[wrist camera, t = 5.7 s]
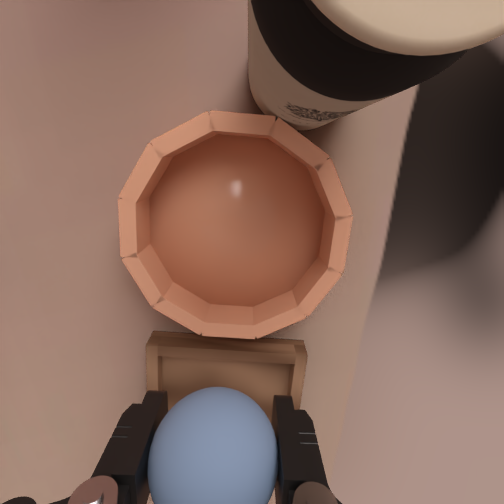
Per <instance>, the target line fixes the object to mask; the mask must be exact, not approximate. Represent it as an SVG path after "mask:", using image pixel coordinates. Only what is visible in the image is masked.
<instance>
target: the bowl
mask: <svg viewBox="0 0 504 504" xmlns="http://www.w3.org/2000/svg"><path fill="white" fill-rule="evenodd" d="M275 118H276V116H270V115H259V114H247V113H236V112H224V111H212V110H210V113H209V112H208V111H206V112H204V113H202V114H200V115H199V116H197V117H195V118H193V119H191V120H189V121H187V122H185V123H183V124H181V125H180V126H178V127H176V128H174V129H172V130H170V131H168V132H166V133H164V134H163V135H161V136H159V137H157V138H155V139H153V140H151V143H148V144H147V146H146V148H145V150H144V152H143V153H142V155H141V157H140V159H139V160H138V162H137V164H136V166H135V168H134V169H133V171H132V173H131V175H130V177H129V178H128V180H127V182H126V184H125V185H124V187H123V189H122V191H121V193H120V194H119V197H120V198H119V199H118V213H119V235H120V257H123V258H122V259H121V260H122V261H123V263H124V264H125V266H126V268H127V269H128V271H129V272H130V274H131V276H132V277H133V279H134V280H135V282H136V283H137V285H138V287H139V288H140V290H141V291H142V293H143V294H144V296H145V298H146V299H147V301H148V302H149V304H150V306H153V305H154V307H153V308H154V309H155V310H157V311H159V312H160V313H162V314H164V315H166V316H167V317H169V318H171V319H173V320H174V321H176V322H178V323H179V324H181V325H183V326H185V327H186V328H188V329H190V330H192V331H193V332H195V333H197V334H198V335H200V334H201V333H202V336H212V337H228V338H244V339H255V335H256V337H257V339H258V338H260V337H263V336H265V335H268V334H270V333H272V332H275V331H277V330H279V329H282V328H284V327H286V326H289V325H291V324H294V323H296V322H298V321H301V320H303V319H305V318H306V316H309V315H310V314H311V313H312V311H313V310H314V309H315V308H316V306H317V305H318V304H319V303H320V302H321V300H322V299H323V298H324V297H325V295H326V294H327V293H328V292H329V291H330V289H331V288H332V287H333V286H334V284H335V283H336V282H337V281H338V280H339V278H340V277H341V276H342V274H341V273H343V272H344V266H345V260H346V255H347V249H348V243H349V237H350V232H351V226H352V220H353V217H352V216H351V215H352V214H353V213H352V211H351V208H350V206H349V203H348V200H347V198H346V195H345V193H344V190H343V187H342V185H341V182H340V180H339V177H338V175H337V172H336V169H335V167H334V164H333V162H332V159H331V158H328V157H329V155H328V154H326V153H325V152H324V151H323V150H321V149H320V148H319V147H317V146H316V145H315V144H313V143H312V142H311V141H309V140H308V139H307V138H305V137H304V136H303V135H301V134H300V133H299V132H297V131H296V130H295V129H294V128H292V127H291V126H290V125H288V124H287V123H286V122H284V121H283V120H282V119H280V118H279V117H278V118H277V120H276V121H275ZM340 272H341V273H340ZM305 315H306V316H305Z"/></svg>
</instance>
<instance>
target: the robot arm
mask: <svg viewBox="0 0 504 504" xmlns="http://www.w3.org/2000/svg"><path fill="white" fill-rule="evenodd" d="M167 413H168V395H167V391H157V390H148V391H147V393H146V395H145V398H144V400H143V402H142V404H132V405H131V406H130V407H129V408H128V409H127V410H126V411H125V412H124V413H123V414H122V416H121V418H120V420H119V422H118V424H117V427H116V428H115V430H114V432H113V434H112V437H111V438H110V440H109V442H108V444H107V446H106V448H105V450H104V452H103V454H102V456H101V458H100V460H99V462H98V464H97V466H96V468H95V470H94V473H93V475H92V476H91V478H90V479H88V480H87V481H85V482H83V483H82V484H81V485H80V486H79V487H77V488H76V490H75V491H74V492H73V494H72V495H71V496H70V497H68V498H66V499H63V500H60V501H57V502H53V503H50V504H146V503H147V500H148V497H149V493H150V489H149V484H148V457H149V452H150V447H151V444H152V441H153V438H154V435H155V432H156V430H157V428H158V426H159V425H160V423H161V421H162V419H163V418H164V417H165V415H166V414H167ZM271 425H272V427H273V430H274V433H275V436H276V440H277V445H278V474H277V480H276V484H275V497H276V504H342V503H341V502H340V501H339V500H338V499H337V498H336V497H335V496H334V495H333V493H332V492H331V490H330V488H329V486H328V483H327V479H326V475H325V471H324V467H323V463H322V458H321V454H320V450H319V446H318V442H317V438H316V435H315V429H314V425H313V421H312V419H311V418H310V416H309V415H308V414H307V412H306V411H305V410H294V404H293V399H292V396H289V395H274V398H273V409H272V420H271ZM3 504H36V502H35V501H34V500H33V499H32V498H29V497H17V498H13V499H11V500H8V501H6V502H4V503H3Z"/></svg>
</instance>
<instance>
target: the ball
mask: <svg viewBox="0 0 504 504" xmlns="http://www.w3.org/2000/svg"><path fill="white" fill-rule="evenodd" d="M277 474H278V445H277V440H276V436H275V433H274V430H273V427H272V425H271V423H270V421H269V419H268V417H267V415H266V414H265V412H264V411H263V410H262V408H261V407H260V406H259V405H258V404H257V403H256V402H255V401H254V400H253V399H251V398H250V397H249V396H247V395H245V394H244V393H242V392H240V391H237V390H234V389H231V388H226V387H208V388H204V389H200V390H198V391H195V392H192V393H191V394H189V395H187V396H185V397H184V398H183V399H181V400H180V401H178V402H177V403H176V404H175V405H174V406H173V407H172V408H171V409H170V410H169V411H168V413H167V414H166V415H165V417H164V418H163V419H162V421H161V423H160V425H159V426H158V428H157V430H156V432H155V435H154V438H153V441H152V444H151V447H150V452H149V457H148V484H149V489H150V493H151V497H152V500H153V502H154V504H268V502H269V500H270V498H271V496H272V493H273V490H274V487H275V484H276V480H277Z"/></svg>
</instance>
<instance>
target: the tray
mask: <svg viewBox="0 0 504 504" xmlns="http://www.w3.org/2000/svg"><path fill="white" fill-rule="evenodd" d="M307 356H308V355H307V351H306V348H305V345H304V341H303V340H288V339H272V338H258V339H257V337H255V339H244V338H228V337H212V336H202V334H200V335H198V334H193V333H178V332H162V331H153V333H152V335H151V337H150V338H149V340H148V342H147V344H146V377H147V391H148V390H157V391H167V395H168V411H169V410H170V409H171V408H172V407H173V406H174V405H175V404H176V403H177V402H178V401H180V400H181V399H183V398H184V397H185V396H187V395H189V394H191V393H192V392H195V391H198V390H200V389H204V388H208V387H226V388H231V389H234V390H237V391H240V392H242V393H244V394H245V395H247V396H249V397H250V398H251V399H253V400H254V401H255V402H256V403H257V404H258V405H259V406H260V407H261V408H262V410H263V411H264V412H265V414H266V415H267V417H268V419H269V421H270V423H271V420H272V409H273V398H274V395H289V396H292V399H293V404H294V410H299V409H300V403H301V396H302V389H303V383H304V376H305V369H306V363H307Z"/></svg>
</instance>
